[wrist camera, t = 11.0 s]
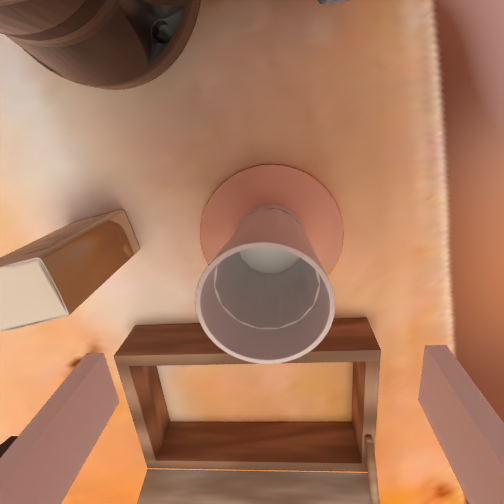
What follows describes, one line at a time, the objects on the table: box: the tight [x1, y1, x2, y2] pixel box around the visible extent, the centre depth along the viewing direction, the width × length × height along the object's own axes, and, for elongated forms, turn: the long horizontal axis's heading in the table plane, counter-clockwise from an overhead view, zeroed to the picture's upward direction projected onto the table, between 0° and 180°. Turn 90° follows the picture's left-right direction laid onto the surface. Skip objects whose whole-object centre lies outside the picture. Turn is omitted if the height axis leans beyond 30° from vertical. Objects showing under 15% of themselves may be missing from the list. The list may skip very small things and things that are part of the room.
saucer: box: [200, 164, 343, 276], centre depth 30 cm, size 13×13×1 cm
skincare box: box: [0, 210, 140, 332], centre depth 26 cm, size 6×4×12 cm
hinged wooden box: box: [114, 318, 381, 504], centre depth 28 cm, size 19×24×20 cm
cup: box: [195, 204, 335, 364], centre depth 24 cm, size 8×8×12 cm
